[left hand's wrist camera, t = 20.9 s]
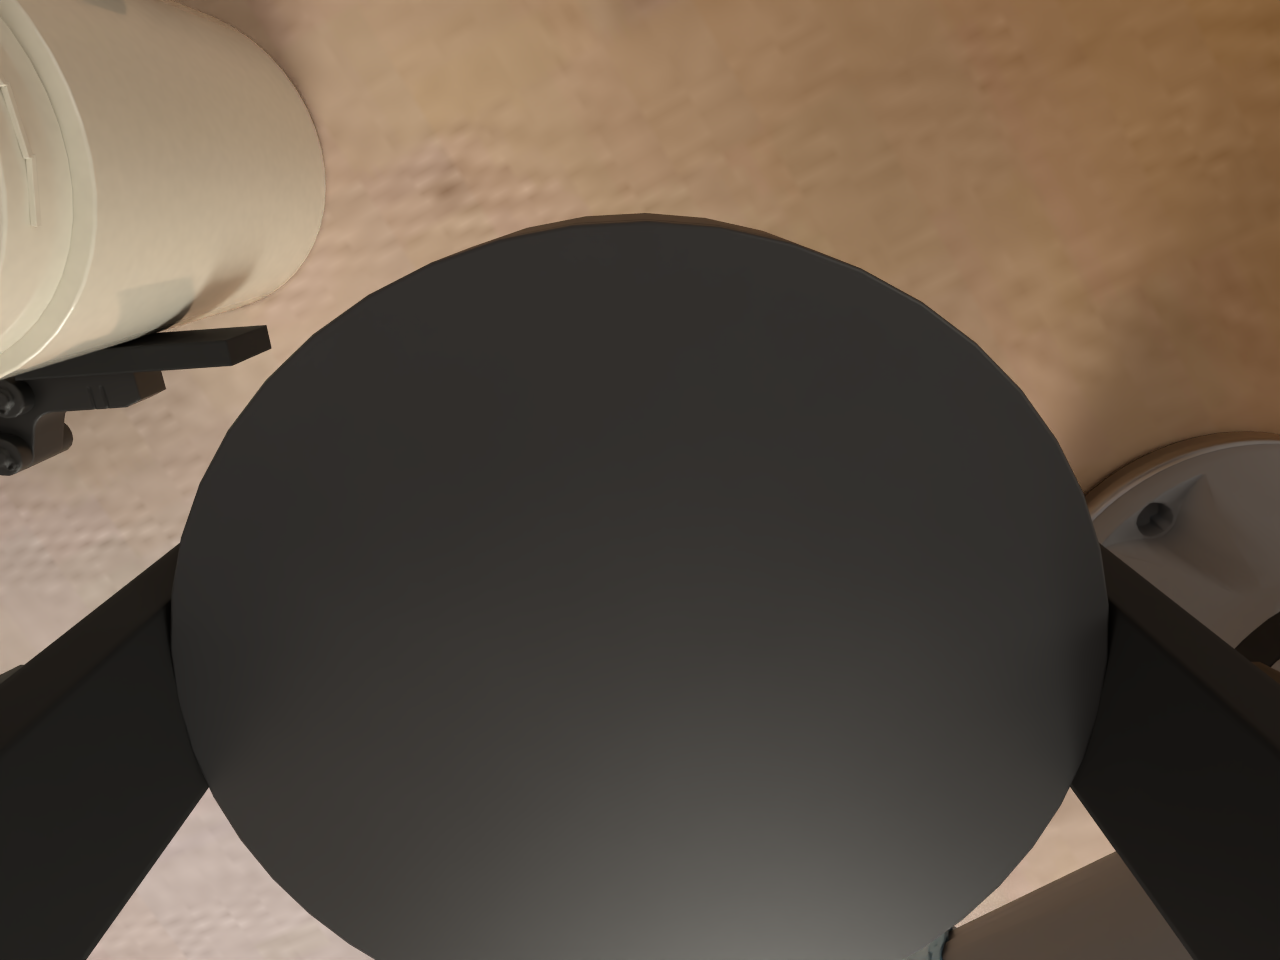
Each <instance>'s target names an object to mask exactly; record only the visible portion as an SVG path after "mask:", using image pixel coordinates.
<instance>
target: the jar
mask: <svg viewBox="0 0 1280 960" xmlns="http://www.w3.org/2000/svg"><path fill="white" fill-rule="evenodd" d="M325 194H326V182H325V167H324V161H323V155H322V149H321V146H320V142H319V139H318V135H317V132H316V129H315V126H314V124H313V121H312V119H311V117H310V114H309V112H308V109H307V108H306V106H305V104H304V102H303V100H302V99H301V97H300V95H299V93H298V91H297V90H296V88H295V87H294V85H293V84H292V83H291V81H290V80H289V78H288V77H287V76H286V74H285V73H284V72H283V70H282V69H281V68H280V67H279V66H278V65H277V64H276V63H275V61H274V60H273V59H272V58H271V57H270V56H269V55H268V54H267V53H266V52H265V51H264V50H263V49H261V48H260V47H259V46H258V45H257V44H256V43H255V42H254V41H252V40H251V39H250V38H248V37H247V36H245V35H244V34H243V33H241V32H240V31H238V30H237V29H236V28H234V27H232V26H230V25H228V24H227V23H225V22H223V21H221V20H219V19H217V18H215V17H213V16H210V15H208V14H205V13H203V12H200V11H198V10H195V9H193V8H190V7H187V6H185V5H182V4H180V3H177V2H175V1H172V0H0V380H3V379H6V378H10V377H13V376H16V375H19V374H23V373H26V372H29V371H33V370H36V369H39V368H42V367H46V366H49V365H52V364H56V363H59V362H62V361H65V360H69V359H72V358H75V357H79V356H82V355H85V354H89V353H92V352H95V351H98V350H102V349H105V348H108V347H112V346H115V345H118V344H121V343H125V342H128V341H131V340H135V339H138V338H141V337H144V336H148V335H151V334H154V333H158V332H161V331H164V330H167V329H171V328H174V327H177V326H181V325H184V324H187V323H190V322H194V321H197V320H200V319H204V318H207V317H210V316H214V315H217V314H220V313H223V312H227V311H230V310H233V309H237V308H240V307H243V306H246V305H249V304H252V303H255V302H257V301H259V300H260V299H262V298H264V297H266V296H268V295H270V294H271V293H273V292H274V291H276V290H277V289H278V288H280V287H281V286H283V285H284V284H285V283H286V282H287V281H288V280H289V279H290V278H291V277H292V276H293V275H294V274H295V273H296V272H297V270H298V269H299V268H300V266H301V265H302V264H303V262H304V261H305V260H306V258H307V256H308V254H309V252H310V250H311V249H312V247H313V245H314V243H315V240H316V237H317V235H318V232H319V229H320V226H321V221H322V217H323V212H324V206H325Z"/></svg>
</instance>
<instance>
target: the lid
mask: <svg viewBox="0 0 1280 960" xmlns="http://www.w3.org/2000/svg"><path fill="white" fill-rule="evenodd" d="M1108 613H1109V604H1108V596H1107V589H1106V582H1105V575H1104V568H1103V561H1102V554H1101V548H1100V545H1099V542H1098V538H1097V535H1096V532H1095V529H1094V526H1093V522H1092V519H1091V516H1090V513H1089V509H1088V506H1087V503H1086V500H1085V497H1084V493H1083V491H1082V489H1081V487H1080V485H1079V483H1078V481H1077V479H1076V477H1075V475H1074V473H1073V471H1072V469H1071V467H1070V465H1069V463H1068V461H1067V459H1066V457H1065V455H1064V453H1063V451H1062V449H1061V447H1060V445H1059V443H1058V441H1057V439H1056V438H1055V436H1054V435H1053V434H1052V432H1051V431H1050V429H1049V428H1048V427H1047V425H1046V424H1045V422H1044V421H1043V419H1042V418H1041V417H1040V415H1039V414H1038V412H1037V411H1036V410H1035V408H1034V407H1033V405H1032V404H1031V403H1030V401H1029V400H1028V398H1027V397H1026V396H1025V394H1024V393H1023V391H1022V390H1021V389H1020V388H1019V387H1018V386H1017V385H1016V384H1015V383H1014V382H1013V381H1012V379H1011V378H1010V377H1009V376H1008V375H1007V374H1006V373H1005V372H1004V371H1003V370H1002V369H1001V368H1000V367H999V366H998V365H997V364H996V363H995V362H994V361H993V360H992V359H991V358H990V357H989V356H988V355H987V354H986V353H985V352H984V351H983V350H982V349H981V348H980V347H979V346H978V345H977V343H975V342H974V341H973V340H971V339H970V338H969V337H967V336H966V335H965V334H964V333H962V332H961V331H960V330H958V329H957V328H956V327H954V326H953V325H952V324H950V323H949V322H948V321H946V320H945V319H944V318H942V317H941V316H940V315H938V314H937V313H936V312H935V311H933V310H932V309H931V308H929V307H928V306H927V305H925V304H924V303H923V302H921V301H919V300H917V299H916V298H914V297H912V296H910V295H908V294H906V293H905V292H903V291H901V290H899V289H897V288H896V287H894V286H892V285H890V284H888V283H886V282H885V281H883V280H881V279H879V278H877V277H876V276H874V275H872V274H870V273H868V272H866V271H865V270H863V269H861V268H858V267H856V266H853V265H851V264H848V263H846V262H843V261H840V260H838V259H835V258H833V257H830V256H828V255H825V254H822V253H820V252H817V251H815V250H812V249H809V248H807V247H804V246H801V245H799V244H796V243H793V242H791V241H788V240H785V239H783V238H780V237H777V236H775V235H772V234H770V233H767V232H764V231H761V230H756V229H752V228H747V227H743V226H738V225H734V224H729V223H725V222H720V221H716V220H711V219H707V218H698V217H686V216H674V215H662V214H650V213H639V214H621V215H603V216H585V217H580V218H575V219H570V220H565V221H560V222H555V223H550V224H545V225H540V226H534V227H529V228H526V229H523V230H520V231H517V232H514V233H511V234H508V235H505V236H502V237H499V238H497V239H494V240H491V241H488V242H485V243H482V244H479V245H476V246H473V247H471V248H468V249H466V250H463V251H460V252H458V253H455V254H453V255H450V256H447V257H445V258H442V259H440V260H437V261H434V262H432V263H430V264H428V265H426V266H424V267H422V268H420V269H418V270H416V271H414V272H412V273H410V274H408V275H406V276H404V277H402V278H401V279H399V280H397V281H395V282H393V283H391V284H389V285H387V286H385V287H383V288H381V289H379V290H377V291H375V292H373V293H371V294H369V295H368V296H366V297H365V298H363V299H362V300H361V301H359V302H358V303H356V304H355V305H354V306H352V307H351V308H349V309H348V310H347V311H345V312H344V313H342V314H341V315H340V316H338V317H337V318H335V319H334V320H333V321H331V322H330V323H329V324H327V325H326V326H324V327H323V328H322V329H320V330H319V331H317V332H316V333H315V334H313V335H312V336H311V337H310V338H309V339H308V340H307V341H306V342H305V343H304V344H303V345H302V346H301V347H300V348H299V349H298V350H297V351H296V352H294V353H293V354H292V355H291V356H290V357H289V358H288V359H287V360H286V361H285V362H284V363H283V364H282V365H281V366H280V367H279V368H278V369H277V370H276V371H275V372H274V373H273V374H272V375H271V376H270V377H269V378H268V379H267V380H266V381H265V382H264V383H263V385H262V386H261V387H260V389H259V390H258V391H257V393H256V394H255V395H254V397H253V398H252V399H251V401H250V402H249V403H248V405H247V406H246V407H245V409H244V410H243V411H242V413H241V414H240V415H239V416H238V418H237V419H236V420H235V422H234V423H233V424H232V426H231V427H230V428H229V430H228V431H227V433H226V435H225V437H224V439H223V441H222V443H221V445H220V446H219V448H218V450H217V452H216V454H215V456H214V458H213V460H212V461H211V463H210V465H209V467H208V469H207V471H206V473H205V474H204V476H203V478H202V480H201V482H200V484H199V487H198V490H197V493H196V496H195V499H194V502H193V505H192V508H191V510H190V513H189V516H188V519H187V522H186V525H185V528H184V531H183V534H182V537H181V541H180V547H179V552H178V558H177V564H176V570H175V575H174V581H173V587H172V593H171V642H170V649H171V656H172V663H173V670H174V678H175V684H176V689H177V694H178V698H179V703H180V707H181V711H182V715H183V719H184V723H185V727H186V730H187V734H188V737H189V741H190V744H191V747H192V751H193V753H194V755H195V757H196V759H197V762H198V764H199V766H200V768H201V770H202V773H203V775H204V777H205V779H206V781H207V784H208V786H209V788H210V790H211V792H212V794H213V797H214V798H215V800H216V801H217V803H218V805H219V806H220V808H221V809H222V811H223V813H224V814H225V816H226V817H227V819H228V821H229V822H230V824H231V825H232V827H233V829H234V830H235V832H236V833H237V835H238V836H239V838H240V840H241V841H242V842H243V843H244V845H245V846H246V847H247V848H248V849H249V851H250V852H251V853H252V854H253V855H254V857H255V858H256V859H257V860H258V862H259V863H260V864H261V865H262V866H263V868H264V869H265V870H266V871H267V872H268V874H269V875H270V876H271V877H272V879H273V880H274V881H276V882H277V883H278V884H279V885H280V886H281V887H282V888H283V889H284V890H285V891H286V892H287V893H288V894H289V895H290V896H291V897H292V898H293V899H294V900H295V901H296V902H297V903H299V904H300V905H301V906H302V907H303V908H304V909H305V910H306V911H307V912H308V913H309V914H310V915H312V916H313V917H314V918H316V919H317V920H318V921H320V922H321V923H322V924H323V925H325V926H326V927H327V928H329V929H330V930H331V931H333V932H334V933H335V934H337V935H338V936H339V937H341V938H342V939H343V940H345V941H346V942H347V943H349V944H350V945H352V946H353V947H355V948H357V949H358V950H360V951H362V952H363V953H365V954H367V955H368V956H370V957H372V958H373V959H375V960H904V959H906V958H907V957H909V956H911V955H913V954H914V953H916V952H918V951H920V950H921V949H923V948H924V947H926V946H927V945H928V944H930V943H931V942H932V941H934V940H935V939H937V938H938V937H939V936H941V935H942V934H943V933H945V932H946V931H948V930H949V929H950V928H952V927H953V926H954V925H956V924H957V923H959V922H960V921H961V920H963V919H964V918H965V917H966V916H967V915H968V914H969V913H970V912H971V911H973V910H974V909H975V908H976V907H977V906H978V905H979V904H980V903H981V902H982V901H983V900H985V899H986V898H987V897H988V896H989V895H990V894H991V893H992V892H993V891H994V890H995V889H997V888H998V887H999V886H1000V885H1001V884H1002V882H1003V881H1004V880H1005V879H1006V878H1007V877H1008V875H1009V874H1010V873H1011V872H1012V871H1013V870H1014V868H1015V867H1016V866H1017V865H1018V864H1019V863H1020V862H1021V860H1022V859H1023V858H1024V857H1025V856H1026V855H1027V853H1028V852H1029V851H1030V850H1031V849H1032V848H1033V846H1034V845H1035V843H1036V842H1037V840H1038V839H1039V837H1040V836H1041V834H1042V833H1043V831H1044V830H1045V828H1046V827H1047V825H1048V824H1049V822H1050V821H1051V819H1052V818H1053V816H1054V815H1055V813H1056V812H1057V810H1058V809H1059V807H1060V805H1061V804H1062V802H1063V799H1064V797H1065V795H1066V793H1067V791H1068V789H1069V787H1070V785H1071V783H1072V781H1073V779H1074V777H1075V775H1076V773H1077V771H1078V769H1079V767H1080V765H1081V763H1082V761H1083V758H1084V755H1085V752H1086V749H1087V746H1088V743H1089V740H1090V737H1091V733H1092V730H1093V727H1094V723H1095V719H1096V716H1097V712H1098V707H1099V703H1100V698H1101V693H1102V688H1103V684H1104V678H1105V672H1106V666H1107V660H1108Z"/></svg>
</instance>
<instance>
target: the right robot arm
mask: <svg viewBox="0 0 1280 960" xmlns="http://www.w3.org/2000/svg"><path fill="white" fill-rule="evenodd" d="M269 349H271V344H270V339H269V335H268V330H267V326H266V325H262V326H248V327H233V328H219V329H205V330H191V331H176V332H162V333H154V334H151V335H148V336H144V337H141V338H138V339H135V340H131V341H128V342H125V343H121V344H118V345H115V346H112V347H108V348H105V349H102V350H98V351H95V352H92V353H89V354H85V355H82V356H79V357H75V358H72V359H69V360H65V361H62V362H59V363H56V364H52V365H49V366H46V367H42V368H39V369H36V370H33V371H29V372H26V373H23V374H19V375H16V376H13V377H10V378H6V379H3V380H0V475H7V476H10V475H13V474H15V473H18V472H20V471H22V470H24V469H27V468H29V467H31V466H33V465H35V464H38V463H40V462H42V461H44V460H46V459H48V458H51V457H53V456H55V455H57V454H59V453H61V452H63V451H65V450H68V449H69V447H70V446H71V445H72V441H73V436H72V432H71V430H70V429H69V427H68V426H67V425H66V424H65V423H64V417H65V412H66V411H78V410H92V409H106V408H122V407H128V406H130V405H133V404H135V403H137V402H140V401H142V400H144V399H147V398H149V397H151V396H153V395H155V394H157V393H159V392H161V391H163V390H165V389H166V387H165V384H164V380H163V376H162V373H161V371H163V370H177V369H192V368H206V367H221V366H233V365H235V364H237V363H239V362H242V361H244V360H246V359H249V358H251V357H253V356H255V355H258V354H260V353H262V352H264V351H267V350H269Z"/></svg>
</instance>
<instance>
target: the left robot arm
mask: <svg viewBox="0 0 1280 960" xmlns="http://www.w3.org/2000/svg"><path fill="white" fill-rule="evenodd" d="M1085 500H1086V503H1087V506H1088V509H1089V513H1090V516H1091V519H1092V522H1093V526H1094V529H1095V532H1096V535H1097V538H1098V542H1099V545H1100V548H1101V554H1102V561H1103V568H1104V575H1105V582H1106V589H1107V596H1108V604H1109V613H1108V660H1107V666H1106V672H1105V678H1104V684H1103V688H1102V693H1101V698H1100V703H1099V707H1098V712H1097V716H1096V719H1095V723H1094V727H1093V730H1092V733H1091V737H1090V740H1089V743H1088V746H1087V749H1086V752H1085V755H1084V758H1083V761H1082V763H1081V765H1080V767H1079V769H1078V771H1077V773H1076V775H1075V777H1074V779H1073V781H1072V783H1071V785H1070V787H1071V789H1072V790H1073V791H1074V793H1075V794H1076V796H1077V797H1078V798H1079V800H1080V801H1081V803H1082V804H1083V805H1084V807H1085V808H1086V810H1087V811H1088V812H1089V814H1090V815H1091V817H1092V818H1093V819H1094V821H1095V822H1096V824H1097V825H1098V826H1099V828H1100V829H1101V831H1102V832H1103V833H1104V835H1105V836H1106V838H1107V839H1108V841H1109V842H1110V843H1111V845H1112V846H1113V848H1114V849H1115V850H1116V852H1114V853H1111V854H1109V855H1107V856H1105V857H1103V858H1101V859H1099V860H1097V861H1095V862H1093V863H1091V864H1089V865H1087V866H1085V867H1082V868H1080V869H1078V870H1076V871H1074V872H1072V873H1070V874H1068V875H1066V876H1064V877H1062V878H1060V879H1058V880H1055V881H1053V882H1051V883H1049V884H1047V885H1045V886H1043V887H1041V888H1039V889H1037V890H1035V891H1033V892H1031V893H1029V894H1026V895H1024V896H1022V897H1020V898H1018V899H1016V900H1014V901H1012V902H1010V903H1008V904H1006V905H1004V906H1002V907H999V908H997V909H995V910H993V911H991V912H989V913H987V914H985V915H983V916H981V917H979V918H977V919H975V920H973V921H970V922H968V923H966V924H964V925H962V926H960V927H958V928H956V927H955V926H953V927H952V928H950V929H949V930H948V931H946V932H945V933H943V934H942V935H941V936H939V937H938V938H937V939H935V940H934V941H932V942H931V943H930V944H928V945H927V946H926V947H924V948H923V949H921V950H920V951H918V952H916V953H914V954H913V955H911V956H909V957H907V958H906V959H904V960H1280V435H1278V434H1273V433H1264V432H1226V433H1216V434H1210V435H1205V436H1200V437H1195V438H1191V439H1188V440H1184V441H1181V442H1177V443H1174V444H1172V445H1169V446H1166V447H1163V448H1161V449H1158V450H1156V451H1154V452H1152V453H1149V454H1147V455H1145V456H1143V457H1141V458H1139V459H1137V460H1135V461H1133V462H1132V463H1130V464H1128V465H1126V466H1125V467H1123V468H1121V469H1120V470H1118V471H1117V472H1115V473H1114V474H1112V475H1111V476H1109V477H1108V478H1106V479H1105V480H1104V481H1103V482H1101V483H1100V484H1099V485H1098V486H1096V487H1095V488H1094V489H1093V490H1091V491H1090V492H1089V493H1088V494H1087V495H1086V496H1085ZM179 547H180V543H179V544H178V545H177V546H175V547H174V548H173V549H172V550H170V551H169V552H168V553H166V554H165V555H164V556H163V557H161V558H160V559H159V560H158V561H156V562H155V563H154V564H152V565H151V566H150V567H149V568H147V569H146V570H145V571H144V572H142V573H141V574H140V575H138V576H137V577H136V578H135V579H133V580H132V581H131V582H130V583H128V584H127V585H126V586H124V587H123V588H122V589H121V590H119V591H118V592H117V593H116V594H114V595H113V596H112V597H110V598H109V599H108V600H107V601H105V602H104V603H103V604H101V605H100V606H99V607H98V608H96V609H95V610H94V611H93V612H91V613H90V614H89V615H87V616H86V617H85V618H84V619H82V620H81V621H80V622H79V623H77V624H76V625H75V626H73V627H72V628H71V629H70V630H68V631H67V632H66V633H65V634H63V635H62V636H61V637H59V638H58V639H57V640H56V641H54V642H53V643H52V644H51V645H49V646H48V647H47V648H45V649H44V650H43V651H42V652H40V653H39V654H38V655H37V656H35V657H34V658H33V659H31V660H30V661H29V662H28V663H26V664H25V665H19V666H17V667H15V668H13V669H11V670H9V671H7V672H5V673H3V674H1V675H0V960H86V959H87V958H88V956H89V955H90V954H91V952H92V951H93V949H94V948H95V947H96V945H97V944H98V942H99V941H100V939H101V938H102V937H103V935H104V934H105V932H106V931H107V930H108V928H109V927H110V925H111V924H112V923H113V921H114V920H115V918H116V917H117V916H118V914H119V913H120V911H121V910H122V909H123V907H124V906H125V904H126V903H127V902H128V900H129V899H130V897H131V896H132V895H133V893H134V892H135V890H136V889H137V887H138V886H139V885H140V883H141V882H142V880H143V879H144V878H145V876H146V875H147V873H148V872H149V871H150V869H151V868H152V866H153V865H154V864H155V862H156V861H157V859H158V858H159V857H160V855H161V854H162V852H163V851H164V850H165V848H166V847H167V845H168V844H169V843H170V841H171V840H172V838H173V837H174V836H175V834H176V833H177V831H178V830H179V828H180V827H181V826H182V824H183V823H184V821H185V820H186V819H187V817H188V816H189V814H190V813H191V812H192V810H193V809H194V807H195V806H196V805H197V803H198V802H199V800H200V799H201V798H202V796H203V795H204V793H205V792H206V791H207V789H208V788H209V786H208V784H207V781H206V779H205V777H204V775H203V773H202V770H201V768H200V766H199V764H198V762H197V759H196V757H195V755H194V753H193V751H192V747H191V744H190V741H189V737H188V734H187V730H186V727H185V723H184V719H183V715H182V711H181V707H180V703H179V698H178V694H177V689H176V684H175V678H174V670H173V663H172V656H171V649H170V642H171V593H172V587H173V581H174V575H175V570H176V564H177V558H178V552H179Z"/></svg>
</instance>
